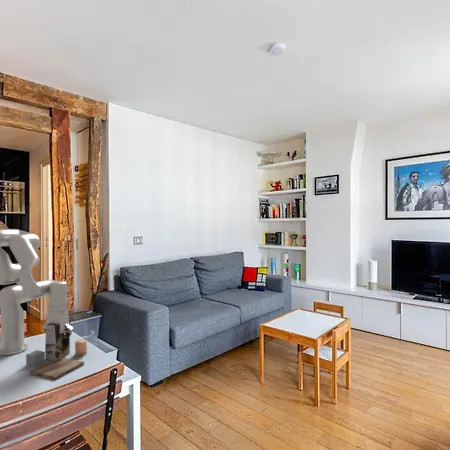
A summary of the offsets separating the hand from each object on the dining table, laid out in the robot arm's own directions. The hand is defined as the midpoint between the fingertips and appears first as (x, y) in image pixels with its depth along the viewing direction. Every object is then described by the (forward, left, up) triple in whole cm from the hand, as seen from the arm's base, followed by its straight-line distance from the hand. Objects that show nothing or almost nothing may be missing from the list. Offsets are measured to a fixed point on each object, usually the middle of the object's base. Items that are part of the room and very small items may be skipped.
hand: (57, 344), depth 150 cm
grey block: (-2, -10, -6) cm, 12 cm away
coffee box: (0, 0, -6) cm, 6 cm away
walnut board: (+11, -10, -6) cm, 16 cm away
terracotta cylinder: (+8, +6, -6) cm, 11 cm away
